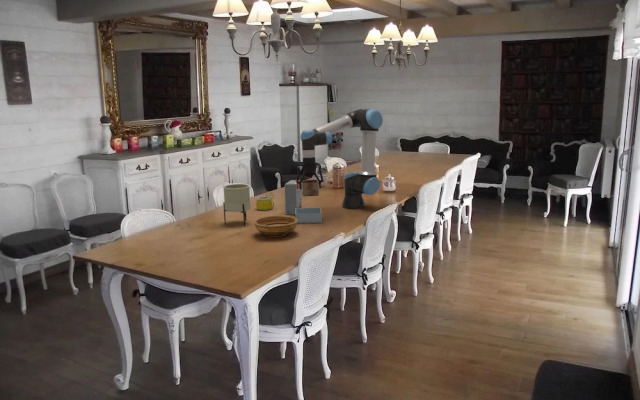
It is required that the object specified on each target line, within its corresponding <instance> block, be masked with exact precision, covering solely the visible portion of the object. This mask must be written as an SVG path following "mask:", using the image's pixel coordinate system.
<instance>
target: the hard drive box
mask: <svg viewBox="0 0 640 400" xmlns="http://www.w3.org/2000/svg"><path fill="white" fill-rule="evenodd" d="M299 181H300V179H299ZM302 196H303V195H302V192H301V189H299V184H298V183H296V179H292V180H291V179H290V180H289V181H288V182H286V183H285V184H284V212H285V213H284V214H285V215H294V216H295V208H303V201H302V200H303V198H302Z"/></svg>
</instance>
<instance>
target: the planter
mask: <svg viewBox="0 0 640 400" xmlns="http://www.w3.org/2000/svg"><path fill="white" fill-rule="evenodd" d="M250 193H251V191H250V185H249V184H244V183H232V184H228V185H224V186H223V199H224V200H223V218H224V225H226V224H227V222H226V221H227V220H226V212H231V213H241V214H242V215H243V216H242V217H243V227H246V221H247V211H248V210H251V194H250Z"/></svg>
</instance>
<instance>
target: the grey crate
mask: <svg viewBox="0 0 640 400" xmlns="http://www.w3.org/2000/svg"><path fill="white" fill-rule="evenodd" d="M294 216H295V218H297V219H298V221H297V225H302V224H303V225H304V224H306V225H307V224H322V223H323V221H322V218H323V217H322V209H321V207H302V208H295V215H294Z"/></svg>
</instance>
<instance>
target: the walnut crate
mask: <svg viewBox="0 0 640 400" xmlns="http://www.w3.org/2000/svg"><path fill="white" fill-rule="evenodd" d="M318 183H319V182H318V180H317V179H305V180H304V179H303V181H302V184H303V195H302V196H303V197H304V198H305V197H314V196H315V197H319V194H318Z"/></svg>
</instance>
